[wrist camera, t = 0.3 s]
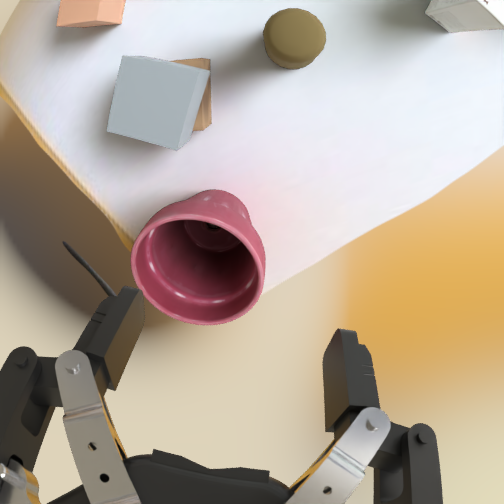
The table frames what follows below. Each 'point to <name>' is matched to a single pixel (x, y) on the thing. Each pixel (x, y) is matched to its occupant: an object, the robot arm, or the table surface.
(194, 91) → the top block
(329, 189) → the table surface
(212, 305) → the plant pot
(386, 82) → the table surface
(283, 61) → the cork
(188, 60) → the bottom block
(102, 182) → the table surface
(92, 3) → the cube
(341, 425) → the robot arm
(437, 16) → the skincare box
